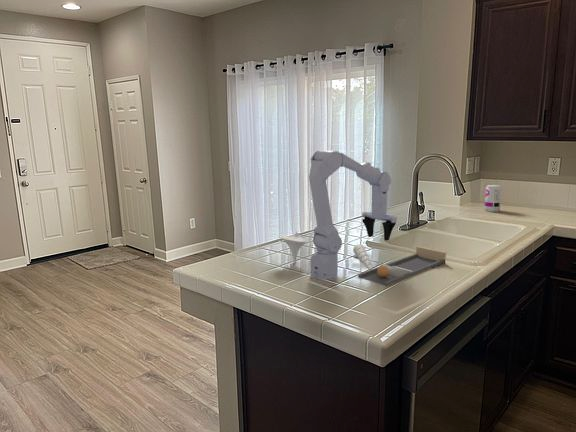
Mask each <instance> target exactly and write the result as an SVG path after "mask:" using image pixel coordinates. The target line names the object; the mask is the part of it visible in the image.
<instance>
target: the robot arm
mask: <svg viewBox="0 0 576 432" xmlns="http://www.w3.org/2000/svg"><path fill="white" fill-rule="evenodd" d="M309 161H310V164H311V165H310V170H309V174H308V175H309V176H308V179H309V180H308V181H309V187H310V191H311V198H312V199H311V200H312V204H313V210H314V217H315V222H316V226H315V227H314V229H313V238H312V243H313V245H314V246H315V249H316V252H315V254H313V255H311V256H310V274H308V275H309V276H311V277H314V278H317V279H320V280H322V281H326V280H330V279H333V278H335V277H338V276H341V275H343V272H340V271H339V270H338V268H339V266H338V265H339V263H338V253H339V251H340V250H341V248H342V245H343V242H342V241H343V240H342V238H341V236H340V234H339V230H338V229H337V227H336V226H335V225H334V223H333V217H332V211H331V210H332V209H331V205H330V198H329V192H328V185H327V180H328V178H329V177H330V176H331V175H333V174H334V173H335V172H336V171H338V170H339V169H340V168H345V169H348V170H349V171H353V172H355V174H356V176H357V178H359V179H361V180H364V181H366V182H367V183H368V184H369V185H370V186H371V203H370V204H371V210H370V212H368V211H363V212H361V213H362V214H361V215H362V216H361V217H362V218H363V219H362V223H363V225H364V227H365V229H366V232H367V237H368V238H372V237H373V236H374V228H375V222H376V220H378V221H382V223H381V224H382V226H383V227H382V228H383V240H384V241H385V242H387V241H389V240H390V238H391V236H392V235H391V234H392V231H393V230H394V227H395V226H396V224H397V222H398V221H397V219H398V218H397V216H394V215H390V214H388V192H389V191H388V190H389V186H390V184H391V183H392V178H391V176H390V174H389V173H388V172H387V171H384V170H383V171H382V170H380V168H379V167H375V166H373V165H372V163H370V162H362V163H359V162H358V161H356V160H355V159H354V158H351V157H349V156H348V155H346V154H345V153H344V152H340V151H338V150H324V149H323V150H322V149H319V150H316V151H315V152H314V153H313V154H312V156H311V157H310V160H309Z"/></svg>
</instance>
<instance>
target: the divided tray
mask: <svg viewBox="0 0 576 432" xmlns="http://www.w3.org/2000/svg"><path fill="white" fill-rule="evenodd" d="M415 249H416V251H415V253H414V254H413V253H412V254H411V255H408V256H405V257H403V258H400V259H397V260H394V261H391V262H389V263H386V264H383V263H382V264H381V265H379V266H378V267H375V268H372V270H370V269H368V270H366V271H363V272H361V273H357V274H358V278H360V279H363V280H365V281H366V280H367V281H370V282H373V283H376V284H379V285H383V286H385V287H386V286H390V285H393V284H395V283H397V282H400V281H401V280H402V281H403V280H404V279H407V278H410V277H412V276H414V275H418V274H419V273H422V272H424V271H427V270H430V269H435V268H437V267H440V266H442V265H445V264H446V257H447V256H446V255H447V252H446V251H443V250H437V249H433V248H429V247H423V246H419V245H418V246H416V248H415ZM380 266H386V267H387V268H388V269H389V274H388V276H386V277H380V276H379V275H378V273H377V270H378V268H379V267H380Z"/></svg>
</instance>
